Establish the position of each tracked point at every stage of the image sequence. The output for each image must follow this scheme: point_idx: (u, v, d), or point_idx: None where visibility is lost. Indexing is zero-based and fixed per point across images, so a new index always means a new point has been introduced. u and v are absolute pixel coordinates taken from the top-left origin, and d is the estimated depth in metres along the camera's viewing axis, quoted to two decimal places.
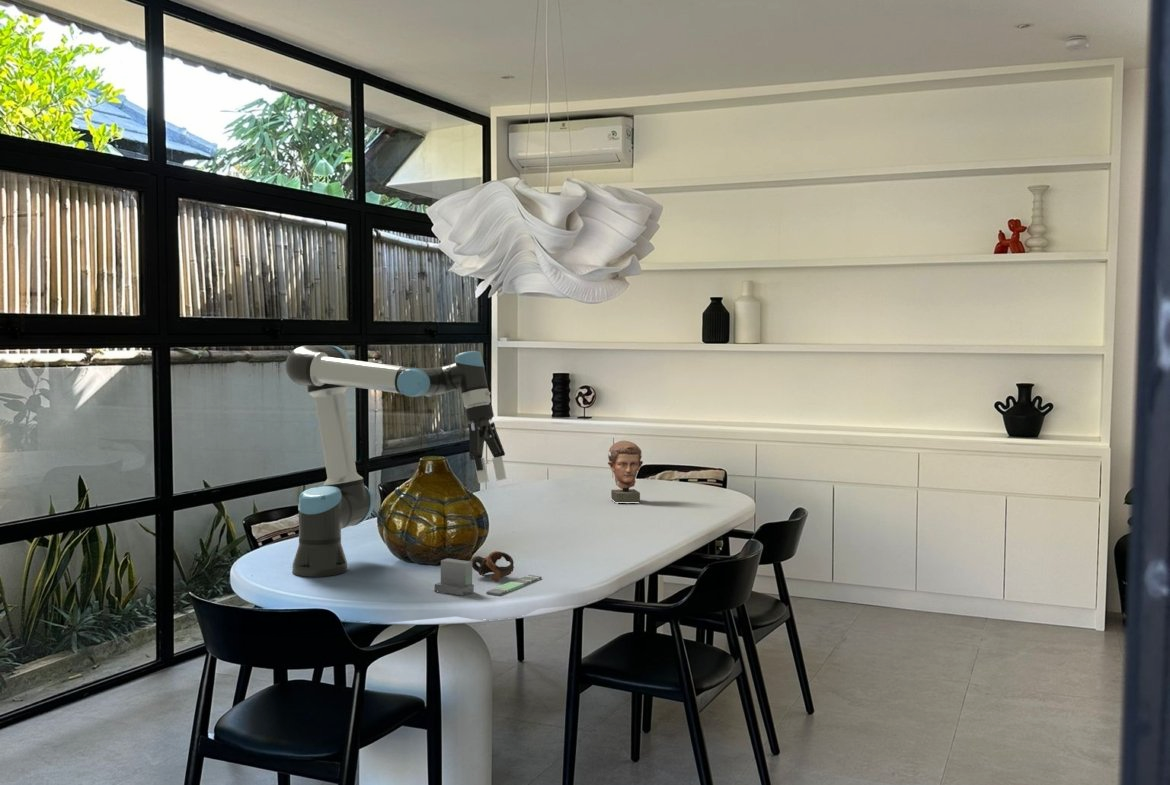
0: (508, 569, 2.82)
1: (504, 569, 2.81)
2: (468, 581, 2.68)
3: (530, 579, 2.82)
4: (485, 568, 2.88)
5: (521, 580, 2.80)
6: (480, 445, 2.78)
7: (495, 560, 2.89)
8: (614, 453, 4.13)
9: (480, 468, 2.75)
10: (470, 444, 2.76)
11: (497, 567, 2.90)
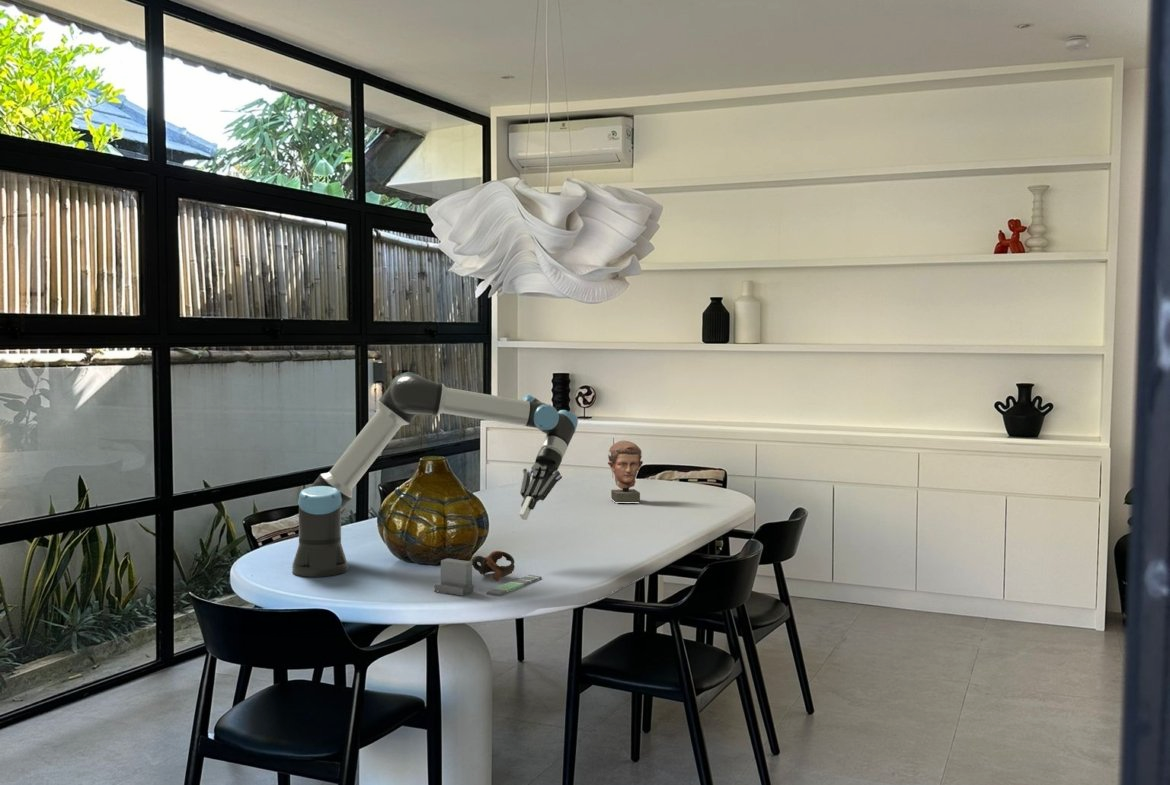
0: (509, 568, 2.83)
1: (505, 568, 2.82)
2: (468, 581, 2.68)
3: (530, 579, 2.82)
4: (486, 567, 2.89)
5: (521, 580, 2.80)
6: None
7: (496, 559, 2.90)
8: (614, 453, 4.13)
9: (533, 508, 3.01)
10: (547, 487, 3.03)
11: (498, 566, 2.91)
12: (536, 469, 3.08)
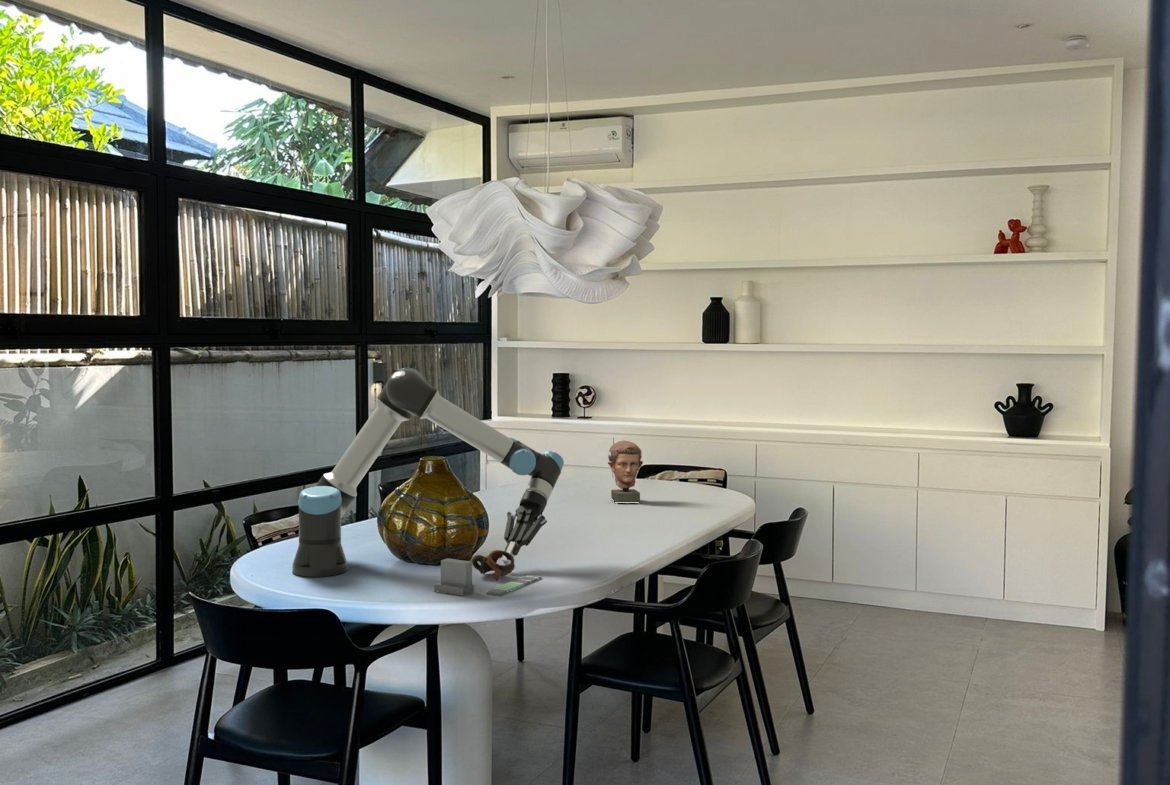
0: (509, 568, 2.83)
1: (505, 568, 2.82)
2: (468, 581, 2.68)
3: (530, 579, 2.82)
4: (486, 567, 2.89)
5: (521, 580, 2.80)
6: None
7: (496, 559, 2.90)
8: (614, 453, 4.13)
9: (517, 553, 2.93)
10: (531, 532, 2.95)
11: (498, 565, 2.91)
12: (520, 513, 3.00)
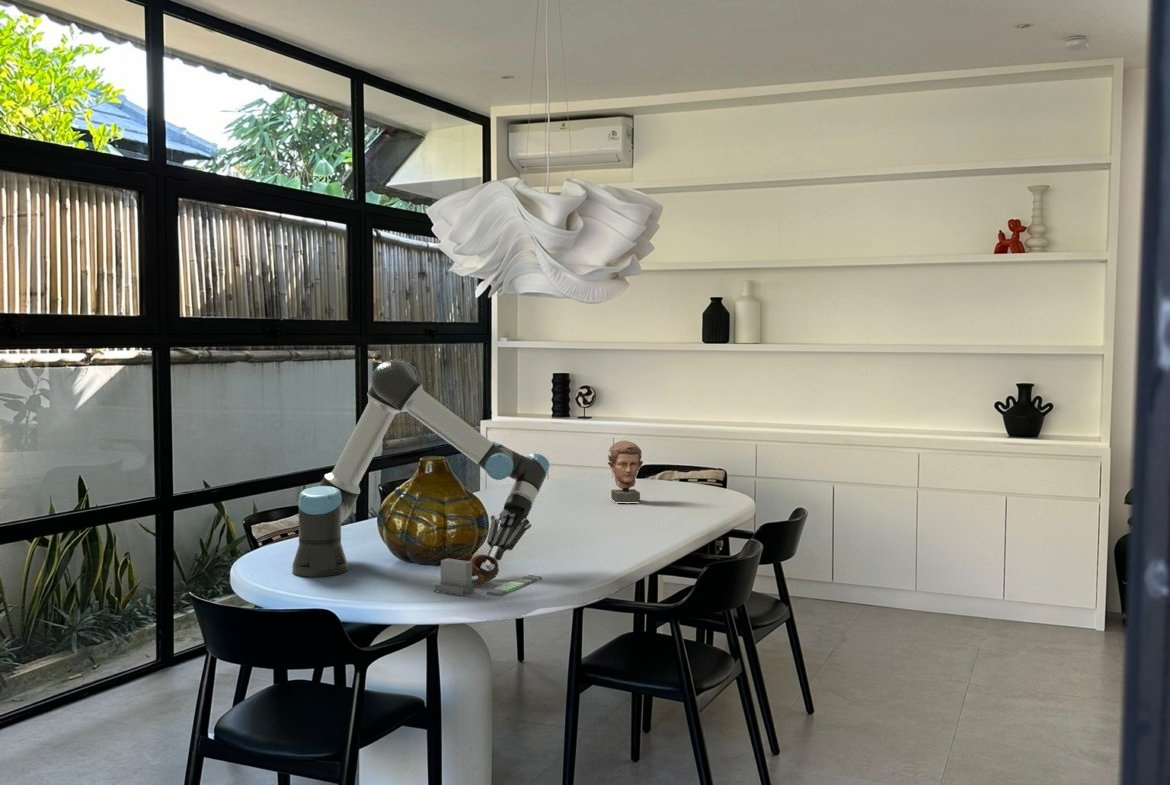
0: (492, 573, 2.76)
1: (488, 573, 2.75)
2: (468, 581, 2.68)
3: (530, 579, 2.82)
4: None
5: (521, 580, 2.80)
6: None
7: (480, 563, 2.83)
8: (614, 453, 4.13)
9: (500, 558, 2.86)
10: (515, 537, 2.88)
11: (483, 570, 2.84)
12: (504, 516, 2.93)
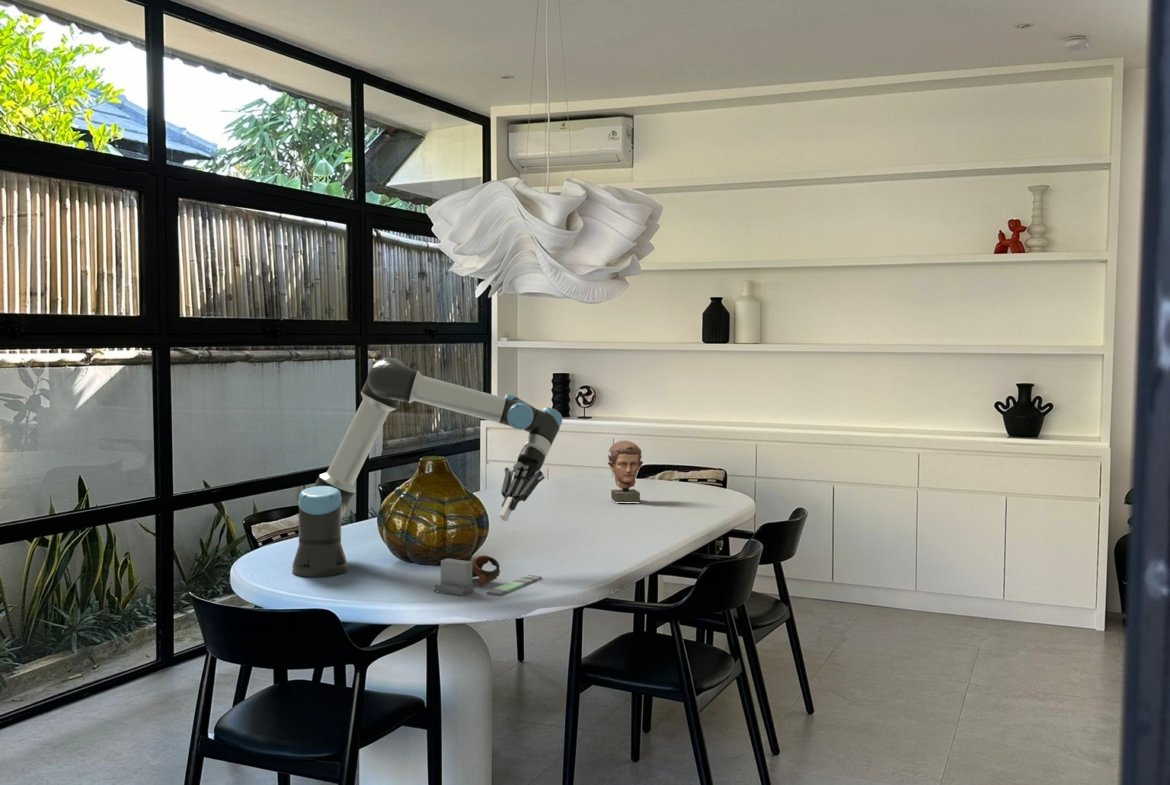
0: (493, 574, 2.77)
1: (489, 574, 2.76)
2: (468, 581, 2.68)
3: (530, 579, 2.82)
4: None
5: (521, 580, 2.80)
6: None
7: (481, 564, 2.84)
8: (614, 453, 4.13)
9: (514, 508, 2.92)
10: (528, 488, 2.94)
11: (483, 571, 2.85)
12: (518, 468, 2.99)
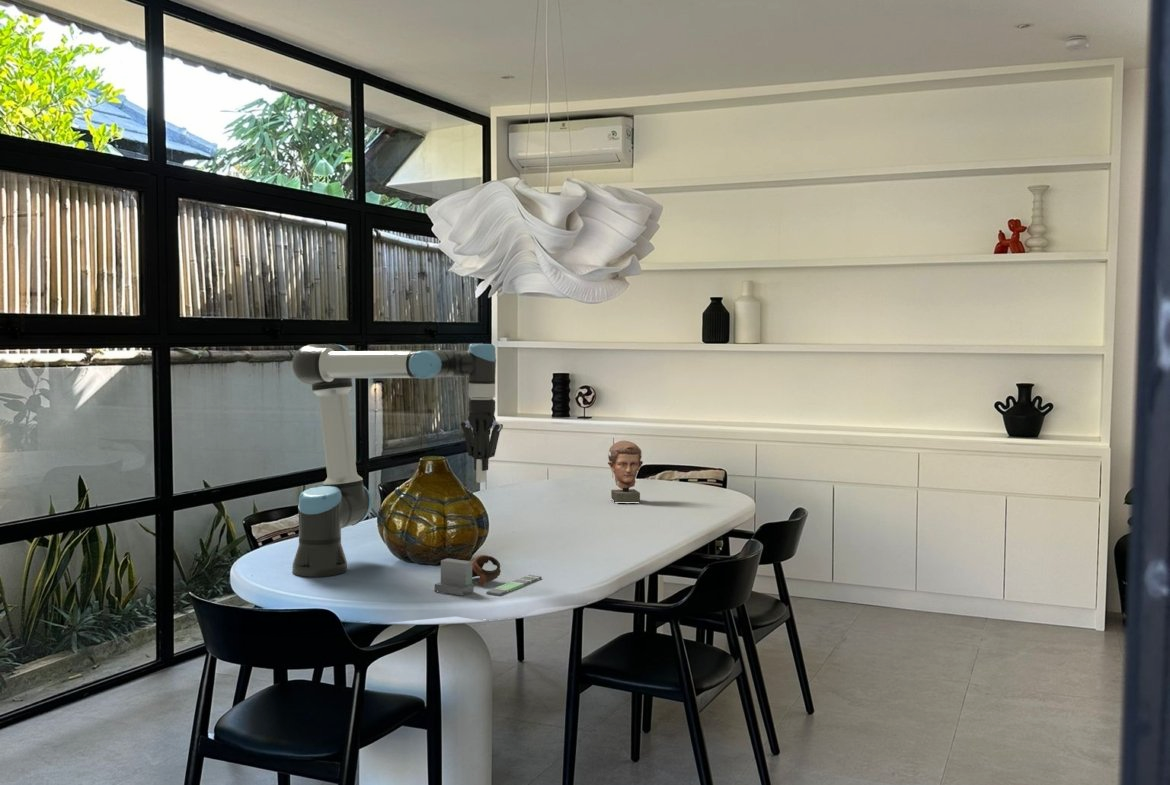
0: (494, 573, 2.77)
1: (490, 573, 2.76)
2: (468, 581, 2.68)
3: (530, 579, 2.82)
4: (472, 572, 2.83)
5: (521, 580, 2.80)
6: (488, 445, 2.88)
7: (482, 564, 2.84)
8: (614, 453, 4.13)
9: (487, 468, 2.88)
10: (492, 446, 2.85)
11: (484, 571, 2.85)
12: (474, 425, 2.86)
